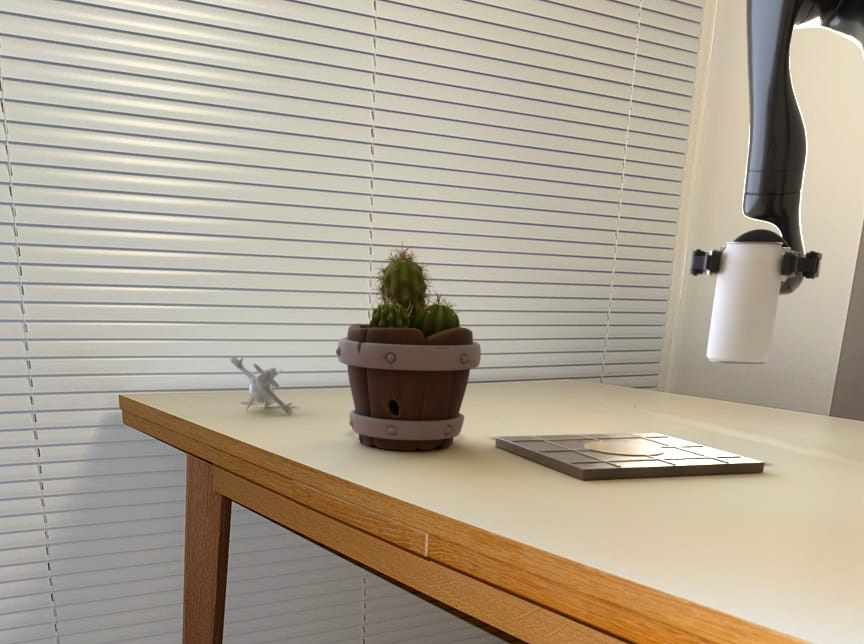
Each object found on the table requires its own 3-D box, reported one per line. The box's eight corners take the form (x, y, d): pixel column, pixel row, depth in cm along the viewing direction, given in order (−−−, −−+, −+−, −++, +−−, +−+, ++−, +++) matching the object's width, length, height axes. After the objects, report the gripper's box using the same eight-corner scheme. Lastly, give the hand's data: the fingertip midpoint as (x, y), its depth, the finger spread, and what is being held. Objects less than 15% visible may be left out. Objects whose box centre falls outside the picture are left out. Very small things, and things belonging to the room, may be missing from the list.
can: (777, 362, 105) (797, 243, 101) (752, 365, 101) (771, 241, 96) (721, 358, 109) (738, 243, 105) (695, 360, 105) (710, 241, 101)
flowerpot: (492, 456, 96) (508, 240, 89) (340, 455, 94) (344, 233, 87) (461, 433, 110) (473, 243, 103) (327, 431, 108) (329, 238, 100)
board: (654, 441, 109) (656, 431, 108) (763, 472, 93) (765, 461, 93) (494, 446, 102) (495, 435, 102) (582, 480, 86) (583, 468, 86)
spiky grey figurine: (307, 408, 126) (308, 391, 117) (276, 441, 126) (274, 427, 117) (250, 355, 125) (246, 334, 116) (219, 388, 125) (212, 370, 116)
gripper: (698, 230, 115) (683, 222, 101) (829, 231, 110) (832, 223, 96) (690, 296, 118) (673, 299, 103) (817, 301, 113) (818, 303, 98)
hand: (750, 262), depth 99 cm, fingers closed on can, 6 cm apart
